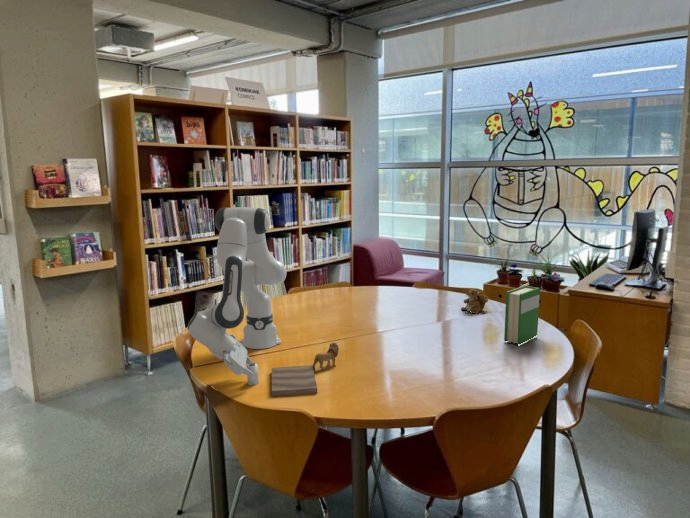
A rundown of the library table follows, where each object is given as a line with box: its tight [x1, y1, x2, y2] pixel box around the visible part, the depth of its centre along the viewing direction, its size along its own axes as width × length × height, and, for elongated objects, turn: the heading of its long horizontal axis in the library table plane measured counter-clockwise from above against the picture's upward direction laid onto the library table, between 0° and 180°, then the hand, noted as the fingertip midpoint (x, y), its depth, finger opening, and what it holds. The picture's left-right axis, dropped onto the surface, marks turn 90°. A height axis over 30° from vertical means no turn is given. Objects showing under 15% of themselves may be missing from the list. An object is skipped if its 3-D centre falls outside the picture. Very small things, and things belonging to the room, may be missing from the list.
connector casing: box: [246, 361, 259, 386], centre depth 187 cm, size 4×4×8 cm
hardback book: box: [503, 285, 541, 345], centre depth 232 cm, size 18×7×24 cm, turn 134°
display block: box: [271, 364, 318, 397], centre depth 188 cm, size 22×16×2 cm
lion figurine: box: [312, 341, 339, 372], centre depth 202 cm, size 15×5×9 cm, turn 142°
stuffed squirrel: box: [460, 288, 489, 314], centre depth 283 cm, size 10×14×13 cm
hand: (253, 370), depth 187 cm, fingers open, 8 cm apart
